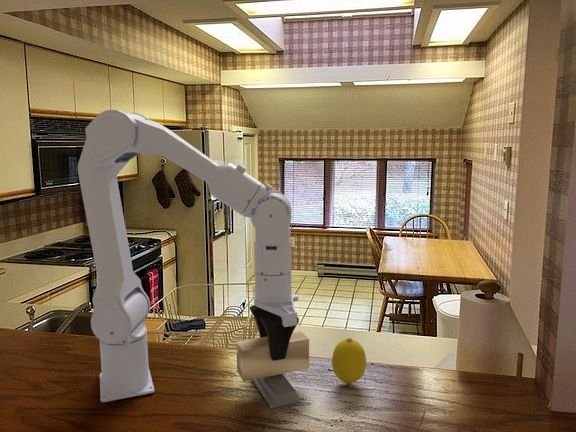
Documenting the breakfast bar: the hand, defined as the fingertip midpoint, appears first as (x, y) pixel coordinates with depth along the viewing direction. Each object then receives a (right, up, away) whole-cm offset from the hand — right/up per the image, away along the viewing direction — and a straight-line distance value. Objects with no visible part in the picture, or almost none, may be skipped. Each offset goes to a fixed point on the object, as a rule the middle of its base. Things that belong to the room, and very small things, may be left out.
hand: (273, 353), depth 77 cm
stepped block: (0, -6, +1) cm, 6 cm away
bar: (0, -3, 0) cm, 3 cm away
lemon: (+12, -6, +3) cm, 14 cm away
